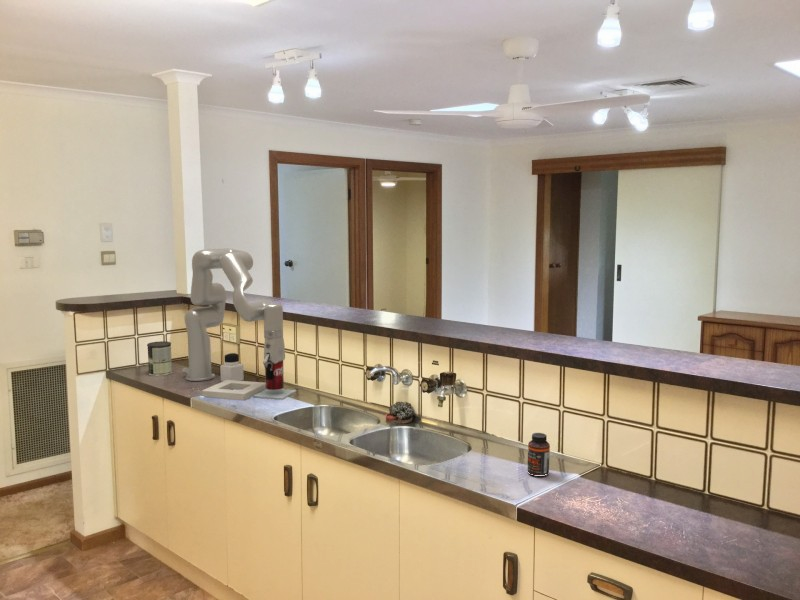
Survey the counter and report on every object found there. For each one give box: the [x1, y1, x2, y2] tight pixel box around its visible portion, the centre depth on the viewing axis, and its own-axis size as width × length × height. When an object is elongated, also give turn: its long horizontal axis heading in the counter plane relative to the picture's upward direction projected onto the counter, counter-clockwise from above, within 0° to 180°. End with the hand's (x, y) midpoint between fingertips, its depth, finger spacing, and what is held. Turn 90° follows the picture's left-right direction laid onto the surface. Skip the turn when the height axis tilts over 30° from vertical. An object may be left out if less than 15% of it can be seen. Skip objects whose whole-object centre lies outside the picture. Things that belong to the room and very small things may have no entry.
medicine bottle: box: [219, 352, 245, 382], centre depth 297 cm, size 7×7×12 cm
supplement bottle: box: [526, 432, 551, 475], centre depth 188 cm, size 6×6×11 cm
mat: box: [252, 388, 298, 401], centre depth 274 cm, size 13×13×1 cm
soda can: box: [264, 360, 285, 391], centre depth 273 cm, size 7×7×12 cm
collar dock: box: [201, 380, 266, 401], centre depth 277 cm, size 19×19×2 cm
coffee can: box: [146, 340, 173, 377], centre depth 311 cm, size 10×10×14 cm
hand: (274, 377), depth 273 cm, fingers closed on soda can, 7 cm apart
